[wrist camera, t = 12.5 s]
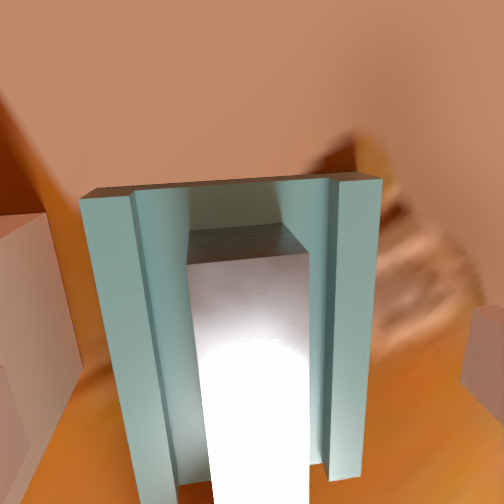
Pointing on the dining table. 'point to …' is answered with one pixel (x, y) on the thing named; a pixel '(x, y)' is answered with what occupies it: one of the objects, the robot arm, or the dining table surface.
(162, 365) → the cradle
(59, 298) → the square socket block
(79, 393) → the dining table surface
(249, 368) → the bar
